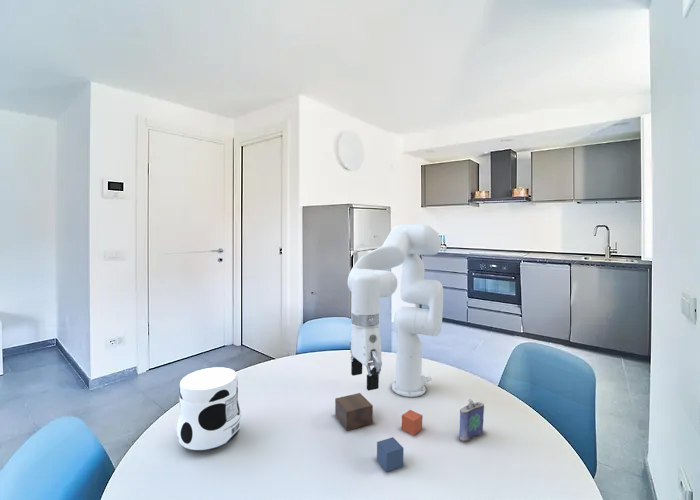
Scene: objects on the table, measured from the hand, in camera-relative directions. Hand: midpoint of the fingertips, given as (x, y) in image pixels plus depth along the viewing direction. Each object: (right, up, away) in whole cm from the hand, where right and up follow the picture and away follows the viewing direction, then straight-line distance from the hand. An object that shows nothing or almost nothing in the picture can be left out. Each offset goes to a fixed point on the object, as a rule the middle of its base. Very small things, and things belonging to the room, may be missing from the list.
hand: (364, 381), depth 92 cm
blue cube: (+7, -20, -3) cm, 21 cm away
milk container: (-45, -19, +7) cm, 49 cm away
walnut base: (-3, -19, +17) cm, 25 cm away
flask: (+32, -20, +9) cm, 38 cm away
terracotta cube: (+15, -19, +12) cm, 27 cm away
